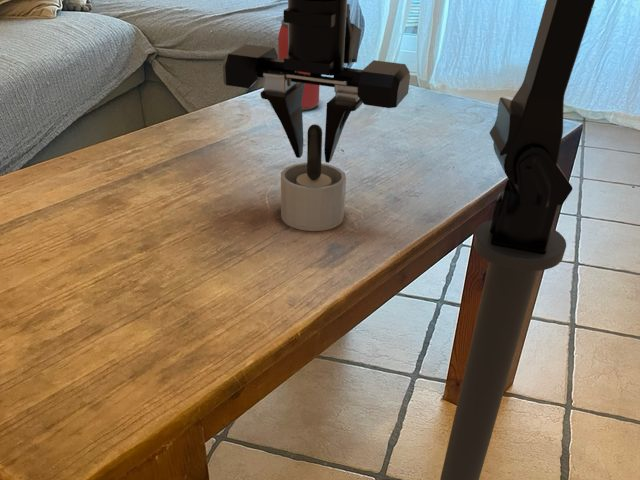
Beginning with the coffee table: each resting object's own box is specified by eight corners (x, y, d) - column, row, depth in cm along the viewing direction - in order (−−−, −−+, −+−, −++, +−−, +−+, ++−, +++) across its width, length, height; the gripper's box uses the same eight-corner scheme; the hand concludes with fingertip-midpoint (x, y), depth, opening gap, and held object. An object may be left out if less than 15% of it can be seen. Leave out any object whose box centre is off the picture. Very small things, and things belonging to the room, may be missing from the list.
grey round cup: (351, 209, 80) (353, 168, 77) (331, 235, 75) (333, 193, 72) (294, 199, 82) (294, 158, 79) (271, 224, 77) (270, 182, 73)
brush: (334, 208, 79) (338, 121, 72) (323, 222, 76) (326, 133, 70) (303, 203, 80) (304, 116, 73) (291, 216, 77) (291, 127, 71)
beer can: (327, 105, 109) (329, 21, 101) (301, 114, 105) (301, 28, 97) (296, 96, 112) (297, 14, 104) (270, 105, 108) (268, 21, 100)
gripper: (430, -10, 67) (411, 147, 78) (260, -27, 71) (264, 124, 82) (404, 11, 59) (387, 182, 70) (215, -9, 63) (226, 155, 74)
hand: (313, 159), depth 74 cm, fingers open, 3 cm apart
